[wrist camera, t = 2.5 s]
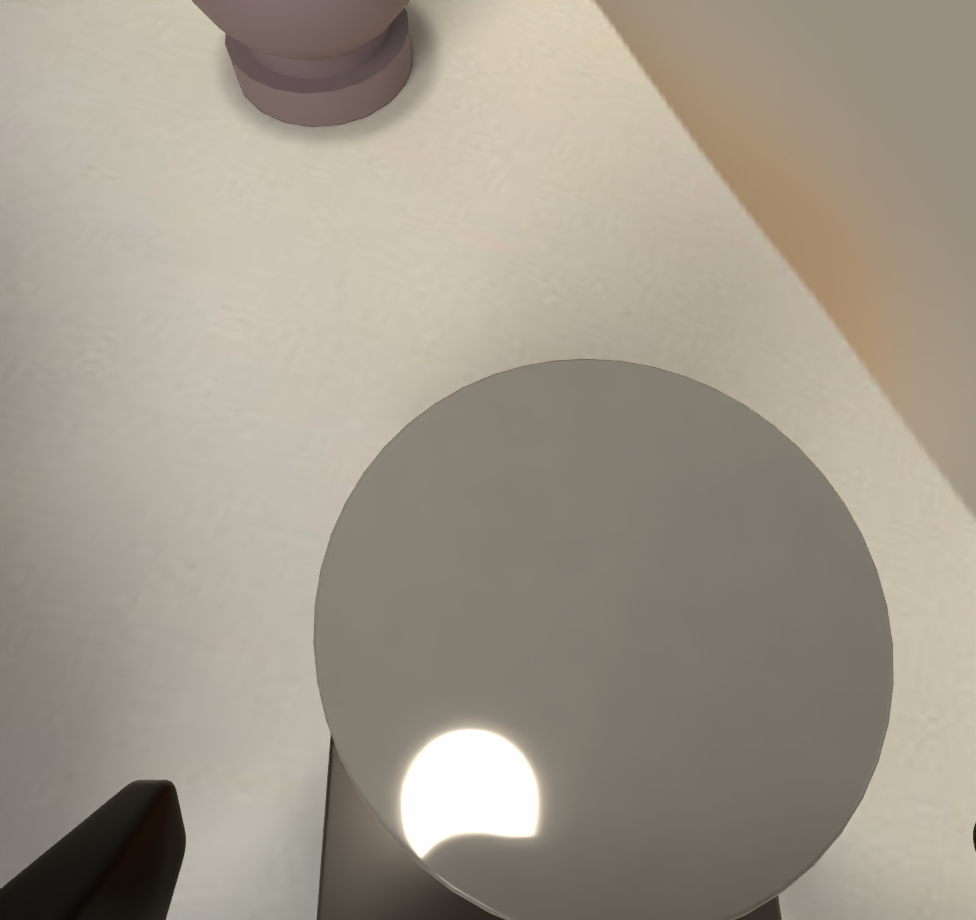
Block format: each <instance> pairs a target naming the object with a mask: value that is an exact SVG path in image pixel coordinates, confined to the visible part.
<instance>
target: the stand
mask: <svg viewBox="0 0 976 920" xmlns="http://www.w3.org/2000/svg"><path fill="white" fill-rule="evenodd" d="M317 920H505V919H503V918H500V917H498V916H495V915H493V914H490V913H489V912H487V911H485V910H483V909H482V908H480V907H478V906H477V905H475V904H473V903H471V902H470V901H468V900H466V899H464V898H463V897H461V896H459V895H458V894H456V893H454V892H452V891H451V890H450V889H448V888H447V887H446V886H445V885H443V884H442V883H441V882H439V881H438V880H437V879H436V878H434V877H433V876H432V875H431V874H429V873H428V872H427V871H426V870H424V869H423V868H422V867H420V866H419V865H418V864H417V863H416V862H415V861H414V860H413V859H412V858H411V857H410V856H409V855H408V854H407V853H406V852H405V851H404V850H403V849H402V848H401V847H400V846H399V845H398V844H397V843H396V841H395V840H394V839H393V838H392V837H391V836H390V835H389V834H388V833H387V832H386V831H385V829H384V828H383V827H382V825H381V824H380V823H379V821H378V820H377V818H376V817H375V816H374V814H373V813H372V812H371V810H370V809H369V807H368V806H367V805H366V803H365V802H364V801H363V799H362V798H361V796H360V794H359V793H358V791H357V789H356V787H355V785H354V783H353V781H352V779H351V778H350V776H349V774H348V772H347V770H346V768H345V766H344V765H343V763H342V761H341V759H340V756H339V753H338V751H337V748H336V746H335V743H334V740H333V738H332V735H331V737H330V750H329V763H328V776H327V789H326V802H325V815H324V828H323V841H322V855H321V868H320V881H319V894H318V907H317ZM734 920H781V913H780V905H779V898H778V895H777V896H776V897H774V898H773V899H771V900H769V901H768V902H766V903H764V904H763V905H761V906H759V907H758V908H756V909H755V910H753V911H751V912H750V913H748V914H746V915H744V916H742V917H739V918H737V919H734Z"/></svg>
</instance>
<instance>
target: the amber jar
mask: <svg viewBox="0 0 976 920" xmlns="http://www.w3.org/2000/svg"><path fill="white" fill-rule="evenodd" d="M313 644H314V654H315V665H316V675H317V683H318V688H319V692H320V696H321V700H322V705H323V709H324V713H325V718H326V722H327V724H328V727H329V730H330V732H331V735H332V738H333V740H334V743H335V746H336V748H337V751H338V753H339V756H340V759H341V761H342V763H343V765H344V766H345V768H346V770H347V772H348V774H349V776H350V778H351V779H352V781H353V783H354V785H355V787H356V789H357V791H358V793H359V794H360V796H361V798H362V799H363V801H364V802H365V803H366V805H367V806H368V807H369V809H370V810H371V812H372V813H373V814H374V816H375V817H376V818H377V820H378V821H379V823H380V824H381V825H382V827H383V828H384V829H385V831H386V832H387V833H388V834H389V835H390V836H391V837H392V838H393V839H394V840H395V841H396V843H397V844H398V845H399V846H400V847H401V848H402V849H403V850H404V851H405V852H406V853H407V854H408V855H409V856H410V857H411V858H412V859H413V860H414V861H415V862H416V863H417V864H418V865H419V866H420V867H422V868H423V869H424V870H426V871H427V872H428V873H429V874H431V875H432V876H433V877H434V878H436V879H437V880H438V881H439V882H441V883H442V884H443V885H445V886H446V887H447V888H448V889H450V890H451V891H452V892H454V893H456V894H458V895H459V896H461V897H463V898H464V899H466V900H468V901H470V902H471V903H473V904H475V905H477V906H478V907H480V908H482V909H483V910H485V911H487V912H489V913H490V914H493V915H495V916H498V917H500V918H503V919H505V920H734V919H737V918H739V917H742V916H744V915H746V914H748V913H750V912H751V911H753V910H755V909H756V908H758V907H759V906H761V905H763V904H764V903H766V902H768V901H769V900H771V899H773V898H774V897H776V896H777V895H779V894H781V893H782V892H783V891H785V890H786V889H787V888H788V887H789V886H791V885H792V884H793V883H794V882H795V881H796V880H798V879H799V878H800V877H801V876H802V875H803V874H805V873H806V872H807V871H808V870H809V869H810V868H812V867H813V866H814V865H815V864H816V863H817V861H818V860H819V859H820V858H821V857H822V856H823V854H824V853H825V852H826V851H827V850H828V848H829V847H830V846H831V845H832V844H833V843H834V841H835V840H836V839H837V838H838V837H839V836H840V834H841V833H842V831H843V830H844V828H845V827H846V825H847V823H848V822H849V820H850V818H851V817H852V815H853V814H854V812H855V810H856V809H857V807H858V805H859V804H860V802H861V801H862V799H863V797H864V794H865V792H866V789H867V787H868V785H869V782H870V780H871V778H872V775H873V773H874V771H875V768H876V766H877V764H878V761H879V757H880V754H881V750H882V746H883V742H884V739H885V735H886V731H887V727H888V723H889V716H890V708H891V699H892V691H893V643H892V636H891V630H890V623H889V616H888V609H887V604H886V601H885V597H884V594H883V590H882V587H881V583H880V579H879V576H878V572H877V569H876V567H875V564H874V562H873V560H872V557H871V555H870V552H869V550H868V547H867V545H866V543H865V540H864V538H863V535H862V534H861V532H860V530H859V528H858V527H857V525H856V523H855V521H854V519H853V518H852V516H851V514H850V512H849V511H848V509H847V507H846V505H845V503H844V502H843V501H842V499H841V498H840V497H839V495H838V494H837V492H836V491H835V490H834V488H833V487H832V486H831V484H830V483H829V481H828V480H827V479H826V477H825V476H824V475H823V473H822V472H821V471H820V470H819V469H818V468H817V467H816V466H815V465H814V463H813V462H812V461H811V460H810V459H809V458H808V457H807V456H806V455H805V454H804V453H803V451H802V450H801V449H800V448H799V447H798V446H797V445H795V444H794V443H793V442H792V441H791V440H790V439H789V438H787V437H786V436H785V435H784V434H783V433H782V432H781V431H779V430H778V429H777V428H776V427H775V426H774V425H773V424H771V423H770V422H768V421H767V420H765V419H764V418H763V417H761V416H760V415H758V414H757V413H755V412H754V411H752V410H751V409H750V408H748V407H747V406H745V405H744V404H742V403H740V402H738V401H736V400H735V399H733V398H731V397H729V396H727V395H725V394H724V393H722V392H720V391H718V390H716V389H714V388H712V387H710V386H707V385H705V384H702V383H700V382H697V381H695V380H693V379H690V378H688V377H685V376H683V375H679V374H676V373H672V372H669V371H665V370H662V369H658V368H655V367H652V366H646V365H640V364H634V363H628V362H623V361H612V360H595V359H578V360H559V361H550V362H544V363H538V364H532V365H526V366H522V367H518V368H515V369H511V370H508V371H504V372H501V373H498V374H494V375H491V376H489V377H487V378H484V379H482V380H480V381H477V382H475V383H472V384H470V385H468V386H465V387H463V388H461V389H459V390H458V391H456V392H454V393H453V394H451V395H449V396H447V397H446V398H444V399H442V400H440V401H439V402H437V403H435V404H434V405H432V406H431V407H430V408H428V409H427V410H426V411H424V412H423V413H422V414H420V415H419V416H418V417H416V418H415V419H414V420H412V421H411V422H410V423H409V424H408V425H406V426H405V427H404V428H403V429H402V430H401V431H400V432H399V433H398V434H397V435H396V436H395V437H394V438H393V439H392V440H391V441H390V442H389V443H388V444H387V445H386V446H385V447H384V448H383V449H382V450H381V452H380V453H379V454H378V455H377V457H376V458H375V459H374V460H373V462H372V463H371V464H370V465H369V467H368V468H367V469H366V470H365V472H364V473H363V474H362V476H361V478H360V479H359V481H358V483H357V484H356V486H355V487H354V489H353V491H352V492H351V494H350V496H349V497H348V499H347V501H346V502H345V504H344V507H343V509H342V511H341V513H340V515H339V518H338V520H337V522H336V524H335V527H334V529H333V531H332V533H331V536H330V539H329V543H328V546H327V549H326V553H325V556H324V559H323V563H322V566H321V570H320V576H319V582H318V588H317V594H316V600H315V611H314V640H313Z"/></svg>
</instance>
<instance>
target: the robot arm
mask: <svg viewBox="0 0 976 920" xmlns="http://www.w3.org/2000/svg"><path fill="white" fill-rule="evenodd" d="M973 842H974V847H975V851H976V823H975V826H974V830H973ZM185 846H186V834H185V828H184V824H183V819H182V814H181V810H180V805H179V800H178V796H177V791H176V788H175V786H174V784H173V783H172V782H171V781H168V780H137V781H134V782H132V783H130V784H128V785H127V786H126V787H124V788H123V789H122V790H121V791H119V792H118V793H117V794H116V795H115V796H113V797H112V798H111V799H110V800H108V801H107V802H106V803H105V804H104V805H102V806H101V807H100V808H99V809H97V810H96V811H95V812H94V813H93V814H91V815H90V816H89V817H88V818H87V819H85V820H84V821H83V822H82V823H80V824H79V825H78V826H77V827H76V828H74V829H73V830H72V831H71V832H69V833H68V834H67V835H66V836H65V837H63V838H62V839H61V840H60V841H58V842H57V843H56V844H55V845H54V846H52V847H51V848H50V849H49V850H47V851H46V852H45V853H44V854H43V855H41V856H40V857H39V858H38V859H36V860H35V861H34V862H33V863H32V864H30V865H29V866H28V867H27V868H26V869H24V870H23V871H22V872H21V873H19V874H18V875H17V876H16V877H15V878H13V879H12V880H11V881H10V882H8V883H7V884H6V885H5V886H4V887H2V888H1V889H0V920H166V917H167V913H168V910H169V906H170V903H171V899H172V896H173V893H174V889H175V886H176V882H177V879H178V875H179V872H180V868H181V865H182V861H183V858H184V853H185Z"/></svg>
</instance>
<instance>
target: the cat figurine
mask: <svg viewBox="0 0 976 920" xmlns="http://www.w3.org/2000/svg"><path fill="white" fill-rule="evenodd" d="M192 1H193V2H194V3H195V5H196V6H197V7H198V8H199V9H201V10H202V11H203V12H204V13H205V14H206V15H207V16H208V17H209V18H210V19H211V20H212V21H213V22H214V23H215V24H216V25H217V26H218V27H219V28H220V29H221V30H222V31H224V32H225V33H226V38H225V45H226V48H227V51H228V54H229V56H230V59H231V62H232V65H233V67H234V70H235V73H236V76H237V79H238V81H239V83H240V86H241V88H242V90H243V93H244V95H245V97H246V98H247V99H248V100H249V101H251V102H252V103H253V104H254V105H255V106H256V107H257V108H258V109H259V110H260V111H261V112H263V113H265V114H268V115H270V116H272V117H274V118H276V119H278V120H281V121H283V122H286V123H293V124H299V125H305V126H311V127H313V126H326V125H340V124H344V123H347V122H350V121H353V120H356V119H360V118H363V117H366V116H368V115H370V114H372V113H373V112H375V111H376V110H378V109H380V108H381V107H383V106H384V105H386V104H388V103H389V102H390V101H391V100H392V99H393V98H394V97H395V96H396V95H397V93H398V92H399V91H400V90H401V89H402V88H403V87H404V85H405V84H406V81H407V78H408V75H409V73H410V70H411V67H412V60H411V48H410V39H409V29H408V20H407V12H406V10H405V9H404V7H405V6H406V5H407V4H408V2H409V0H192Z"/></svg>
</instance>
